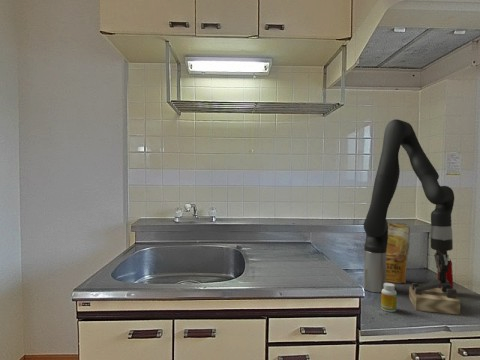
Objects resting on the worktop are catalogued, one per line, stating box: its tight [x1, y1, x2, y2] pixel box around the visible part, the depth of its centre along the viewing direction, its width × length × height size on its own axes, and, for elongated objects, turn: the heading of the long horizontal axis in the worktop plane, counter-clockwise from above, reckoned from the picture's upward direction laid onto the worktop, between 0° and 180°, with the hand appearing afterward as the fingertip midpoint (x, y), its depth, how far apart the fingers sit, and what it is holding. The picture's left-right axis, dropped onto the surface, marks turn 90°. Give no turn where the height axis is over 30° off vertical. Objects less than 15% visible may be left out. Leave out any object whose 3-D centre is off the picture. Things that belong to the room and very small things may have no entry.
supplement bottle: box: [380, 282, 398, 313], centre depth 140 cm, size 5×5×10 cm
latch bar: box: [414, 279, 450, 291], centre depth 144 cm, size 13×4×1 cm, turn 75°
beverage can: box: [436, 258, 454, 289], centre depth 158 cm, size 6×6×15 cm
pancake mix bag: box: [386, 221, 411, 285], centre depth 175 cm, size 7×19×28 cm, turn 67°
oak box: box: [408, 282, 461, 315], centre depth 144 cm, size 15×14×8 cm
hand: (442, 281), depth 143 cm, fingers closed
